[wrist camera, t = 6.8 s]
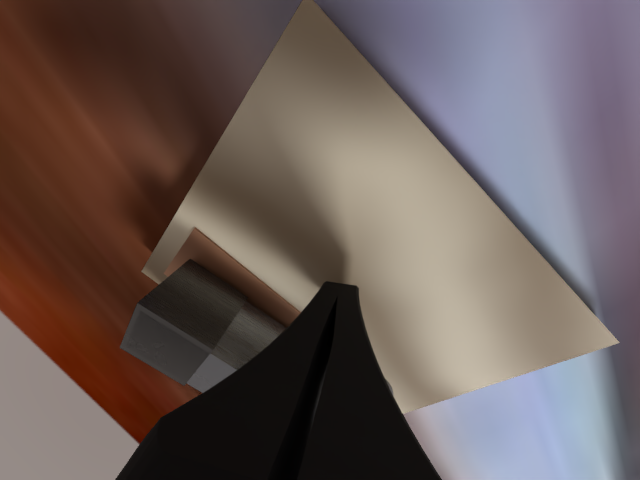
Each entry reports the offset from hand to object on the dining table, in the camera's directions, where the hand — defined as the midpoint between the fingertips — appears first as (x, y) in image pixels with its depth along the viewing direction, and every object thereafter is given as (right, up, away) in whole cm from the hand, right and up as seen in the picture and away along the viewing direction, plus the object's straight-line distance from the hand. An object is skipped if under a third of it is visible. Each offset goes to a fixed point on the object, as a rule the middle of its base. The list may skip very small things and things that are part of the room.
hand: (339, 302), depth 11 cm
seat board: (0, 0, +2) cm, 2 cm away
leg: (-3, -3, +3) cm, 5 cm away
